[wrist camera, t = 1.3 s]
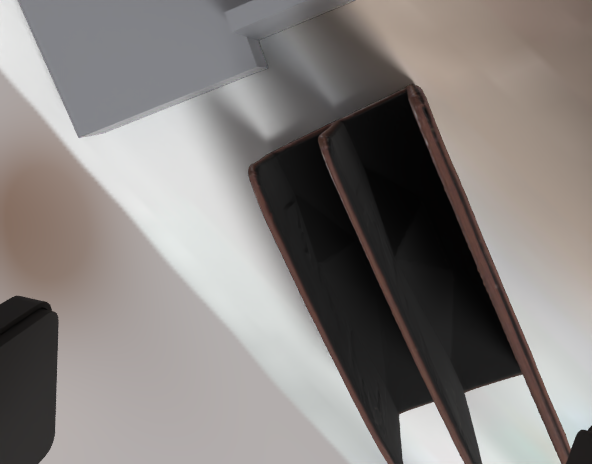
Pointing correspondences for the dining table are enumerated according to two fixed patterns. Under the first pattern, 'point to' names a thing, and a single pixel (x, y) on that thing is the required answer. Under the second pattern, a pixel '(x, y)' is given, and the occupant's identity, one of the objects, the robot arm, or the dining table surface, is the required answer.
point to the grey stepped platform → (153, 50)
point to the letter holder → (396, 270)
